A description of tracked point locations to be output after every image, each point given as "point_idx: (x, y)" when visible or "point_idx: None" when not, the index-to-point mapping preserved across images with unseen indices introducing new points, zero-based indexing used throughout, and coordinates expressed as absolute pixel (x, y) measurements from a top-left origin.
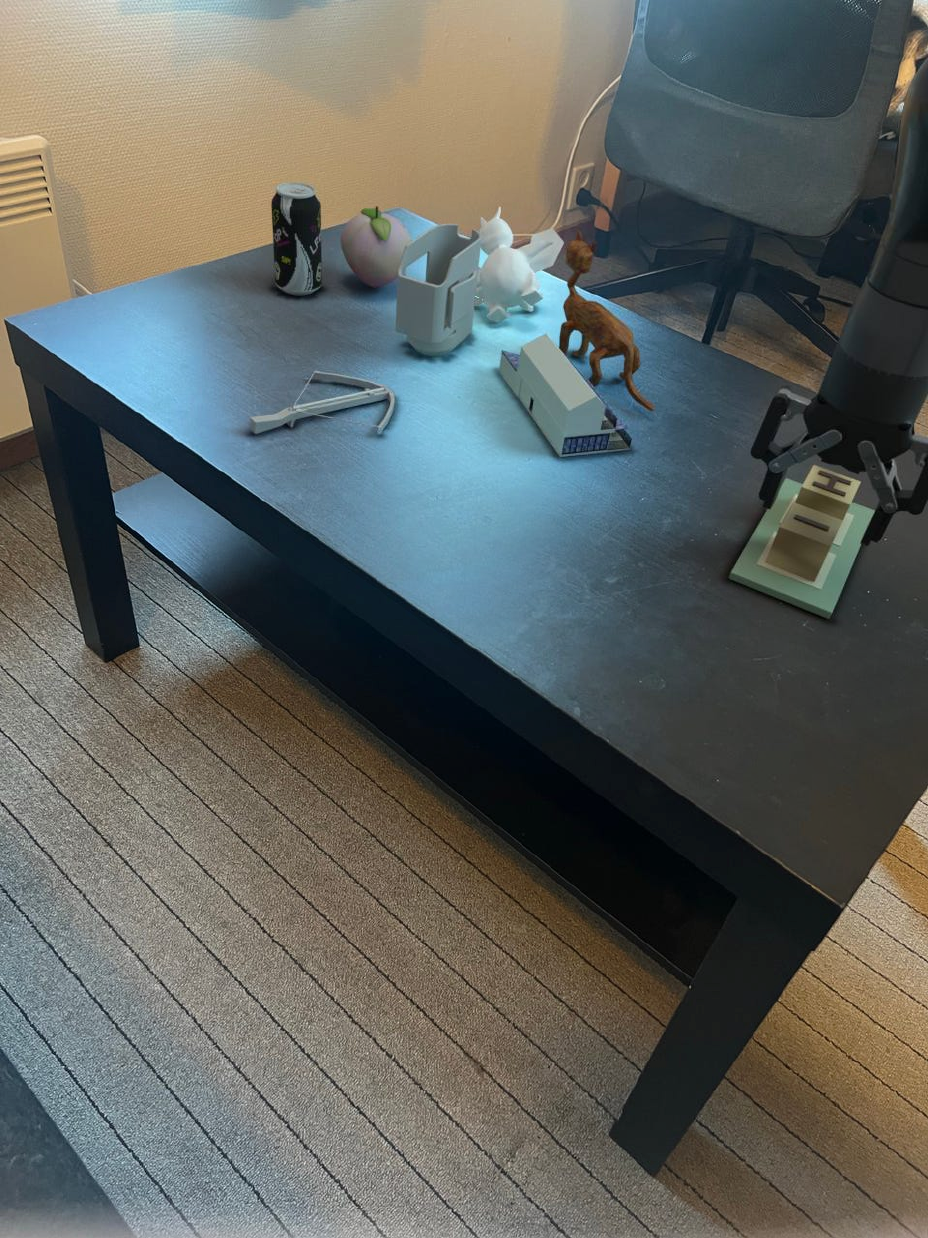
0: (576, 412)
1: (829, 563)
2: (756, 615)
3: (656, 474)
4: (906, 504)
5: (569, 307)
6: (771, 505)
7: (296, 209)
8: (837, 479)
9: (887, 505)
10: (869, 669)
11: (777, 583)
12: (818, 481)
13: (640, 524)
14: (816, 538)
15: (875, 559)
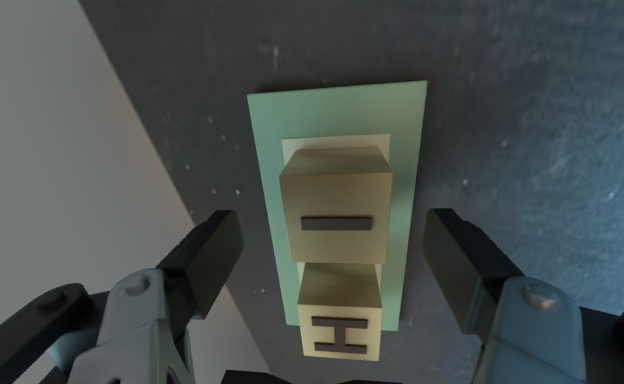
0: None
1: None
2: (350, 11)
3: (584, 263)
4: (95, 309)
5: None
6: (434, 213)
7: None
8: (334, 346)
9: (135, 283)
10: (156, 14)
11: (344, 108)
12: (360, 331)
13: (615, 124)
14: (311, 182)
15: (256, 254)
